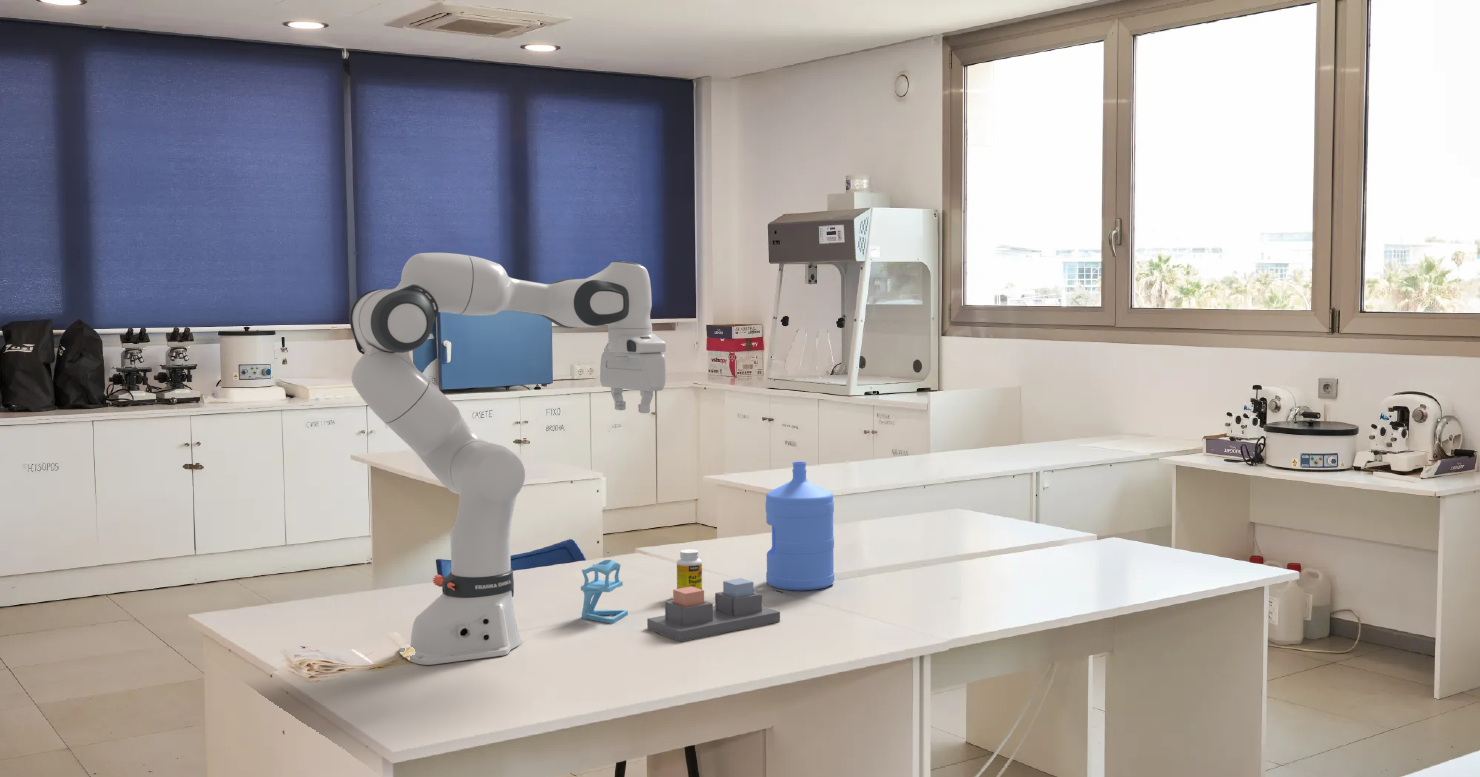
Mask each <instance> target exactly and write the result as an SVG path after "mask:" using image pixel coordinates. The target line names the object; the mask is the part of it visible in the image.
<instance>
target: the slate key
mask: <svg viewBox="0 0 1480 777" xmlns="http://www.w3.org/2000/svg"><path fill="white" fill-rule="evenodd" d="M722 583H723V584H722V586H723V588H722V592H723V594H725V595H728V596H731V597H734V598H738V597H744V596H749V595H754V592H755V590H754V581H751V580H749V579H745V578H741V577H739V578H735V579H734V578H733V579H728V580H723V582H722Z"/></svg>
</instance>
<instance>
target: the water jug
mask: <svg viewBox="0 0 1480 777" xmlns="http://www.w3.org/2000/svg"><path fill="white" fill-rule="evenodd" d="M791 464H792V478H791V481H789V482H786V483H784V484H783V485H781V486H778V487H776V488H774V489H772V490H770V491H768V492H767V493H766V495H765V496H766V497H765V499H766V500H765V513H766V516H765V518H766V520H765V521H766V522H765V523H766V524H767V525H769V526H771V548H770V549H769V550H768V551H767V552H766V573H765V574H766V576H765V578H766V580H765V581H766V582H767V584H768V586H770V587H772V588H774V589H775V588H776V589H779V590H783V591H784V590H786V591H800V592H801V591H803V592H805V591H815V590H816V591H817V590H820V589H826V588H828V587H830V586H832V585H833V583H835V571H834V565H835V564H834V560H835V559H834V557H835V555H834V548H835V536H834V511H835V504H834V503H835V502H834V495H833V493H832V492H831V491H829V490H828V489H825V488H824V487H821V486H819V485H817V484H815V483H813V482H811V481H809V480H808V478H807V468H806V465H807V462H806V461H794V462H792V463H791Z"/></svg>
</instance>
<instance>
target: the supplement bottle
mask: <svg viewBox="0 0 1480 777" xmlns="http://www.w3.org/2000/svg"><path fill="white" fill-rule="evenodd" d="M679 552H680V554H679V559H678V560H676V589H680V588H686V587H691V586H692V587H695V588H698V589H701V590H703V562H702V560H701V558H699V550H698V549H693V548H692V549H691V548H690V549H689V548H687V549H682V550H680V551H679Z"/></svg>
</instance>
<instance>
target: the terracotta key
mask: <svg viewBox="0 0 1480 777" xmlns="http://www.w3.org/2000/svg"><path fill="white" fill-rule="evenodd" d="M672 593H673V595H672V596H673V603H675V604H678V605H680V606H683V607H688V606H694V605H699V604H704V600H705V590H704V589H702V590H701V589H698V588H695V587H692V586H691V587H686V588H680V589H677V588H674V589H672Z"/></svg>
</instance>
